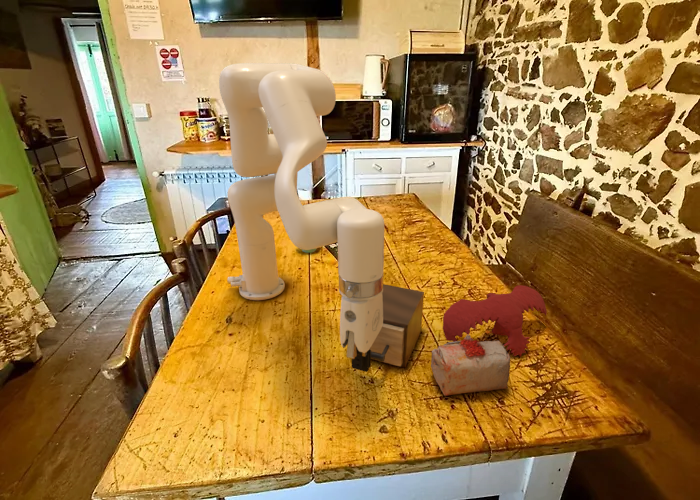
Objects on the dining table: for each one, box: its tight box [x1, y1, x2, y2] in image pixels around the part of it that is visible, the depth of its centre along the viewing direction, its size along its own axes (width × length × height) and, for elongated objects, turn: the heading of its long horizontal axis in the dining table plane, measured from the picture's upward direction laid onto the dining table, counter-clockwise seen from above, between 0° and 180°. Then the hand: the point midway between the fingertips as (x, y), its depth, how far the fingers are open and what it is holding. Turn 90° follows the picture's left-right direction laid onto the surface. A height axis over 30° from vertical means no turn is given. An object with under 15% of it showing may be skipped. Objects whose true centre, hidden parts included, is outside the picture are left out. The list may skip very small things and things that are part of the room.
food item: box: [430, 333, 511, 397], centre depth 75 cm, size 14×8×10 cm, turn 97°
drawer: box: [369, 323, 404, 368], centre depth 84 cm, size 17×11×9 cm
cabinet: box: [382, 283, 425, 368], centre depth 88 cm, size 14×13×11 cm
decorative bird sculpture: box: [442, 284, 548, 358], centre depth 88 cm, size 28×9×15 cm
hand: (361, 367), depth 74 cm, fingers closed
